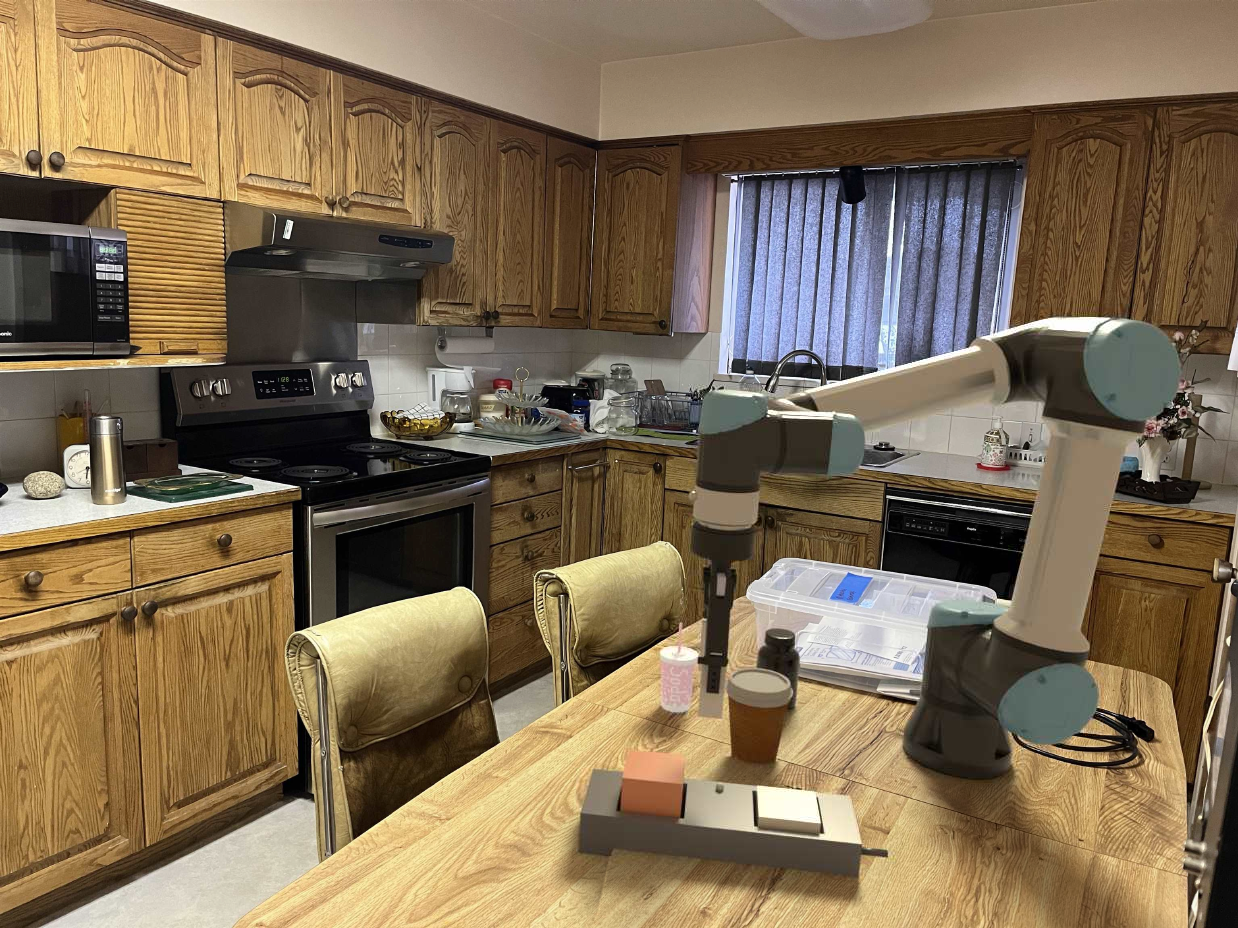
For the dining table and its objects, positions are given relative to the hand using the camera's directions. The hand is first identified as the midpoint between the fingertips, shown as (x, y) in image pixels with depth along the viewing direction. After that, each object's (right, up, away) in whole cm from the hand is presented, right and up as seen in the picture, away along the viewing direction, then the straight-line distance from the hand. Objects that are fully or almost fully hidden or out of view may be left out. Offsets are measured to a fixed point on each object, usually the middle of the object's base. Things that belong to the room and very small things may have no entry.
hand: (709, 692), depth 112 cm
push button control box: (+3, -18, -1) cm, 18 cm away
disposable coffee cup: (+8, -15, +20) cm, 26 cm away
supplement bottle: (+15, -12, +39) cm, 43 cm away
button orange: (-7, -13, -1) cm, 15 cm away
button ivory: (+9, -17, -2) cm, 20 cm away
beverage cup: (-2, -11, +36) cm, 38 cm away
